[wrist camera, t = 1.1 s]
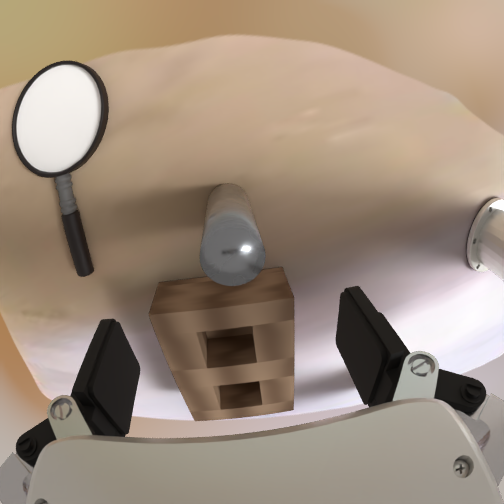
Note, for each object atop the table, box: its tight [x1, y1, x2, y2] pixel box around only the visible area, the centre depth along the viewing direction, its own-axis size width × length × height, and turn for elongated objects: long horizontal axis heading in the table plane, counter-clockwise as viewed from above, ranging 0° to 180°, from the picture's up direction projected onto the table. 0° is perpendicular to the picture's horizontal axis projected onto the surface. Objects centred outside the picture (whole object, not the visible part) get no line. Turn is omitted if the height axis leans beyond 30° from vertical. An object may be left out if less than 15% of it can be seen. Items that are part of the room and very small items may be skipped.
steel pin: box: [200, 183, 265, 286], centre depth 23 cm, size 4×4×12 cm
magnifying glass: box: [12, 61, 109, 277], centre depth 24 cm, size 12×24×2 cm, turn 3°
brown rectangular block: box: [149, 267, 294, 421], centre depth 33 cm, size 14×20×6 cm
